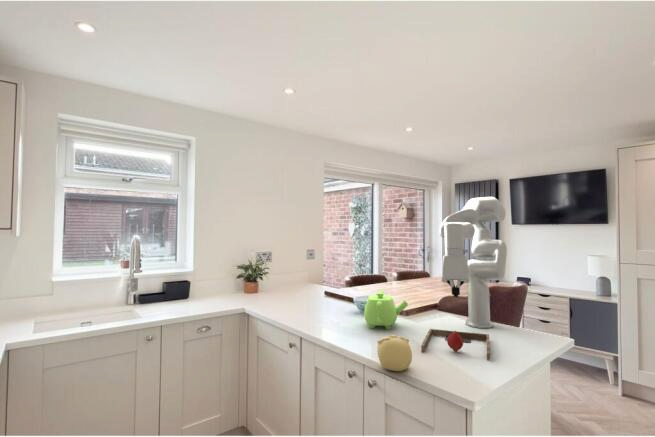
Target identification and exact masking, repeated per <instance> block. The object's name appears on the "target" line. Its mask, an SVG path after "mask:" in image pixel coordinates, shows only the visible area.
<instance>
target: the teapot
mask: <svg viewBox="0 0 655 437" xmlns="http://www.w3.org/2000/svg"><path fill="white" fill-rule="evenodd" d="M368 296H369V298H368V300H367V303H366V306H365V311H364V313H363V317H364V320H365V322H366V323H367V325H369V326H368V328H369V329H376V327H377V326H382V327H383V326H384V328H385V329H387V330H390V329H392V328H393V327H392V326H393V325H395V323H396V322H397V318H398V315H399V314H400V313H402V312H403V311H404V310H405V309H406V308H407V307H408V306H409V303H408V302H407V301H406V300H402V302H401V303H400V304H399V305H398V306H396V304H395V302H394V299H393V297H392V296H391V295H389V294H388V295H386V294H384V289H380V290H379V292H376V294H372V295H368Z"/></svg>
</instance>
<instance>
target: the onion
mask: <svg viewBox="0 0 655 437" xmlns="http://www.w3.org/2000/svg"><path fill="white" fill-rule="evenodd" d="M453 331H454V332H453V333H451V334H450V335H449V336H448V339H447V340H446V343H447V346H448V347H449V348H450V349H451V350H452V351H454V352H458V351H459V350H461V349H462V348H463V346H464V342H463V339H462V337H461V336H460V335H459V334H458V333H457V332H456V331H457V330H453Z"/></svg>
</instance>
